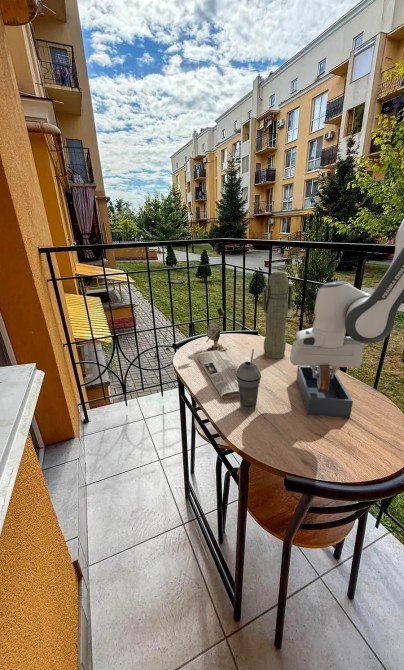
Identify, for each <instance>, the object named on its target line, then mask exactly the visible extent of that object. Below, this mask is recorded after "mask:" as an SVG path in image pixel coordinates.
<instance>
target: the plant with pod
mask: <svg viewBox="0 0 404 670" xmlns="http://www.w3.org/2000/svg"><path fill="white" fill-rule="evenodd" d="M216 311H217V314H218V323H220V322H221V316H223V317H224V318H225V317H226V316H225V310H224V309H223V307H222V306H220V307H219V308H217V309H216ZM206 336H207V340H206V342H205V343H208V342H209V341H210V340H211V341H213V344H212V345H211V346H210V347H207V348H208V349H209V350H210V351H216V350H217V351H221V352H224V351H228V348H226V347H225V346H223V345H222V344H220V343H219V340H220V338H221V326H220V324H217V323H216V322H211V323H210V324H209V325H208V327H207V329H206ZM209 350H208V351H209Z"/></svg>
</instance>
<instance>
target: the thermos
mask: <svg viewBox="0 0 404 670" xmlns="http://www.w3.org/2000/svg"><path fill="white" fill-rule="evenodd" d="M293 290H294V289H293V286H292V284H290V283H289V279H288V274H287V273H285V272H281V271H278V272H276V271H275V272H272V273H270V275H269V278H268V280H267V285H265V286H264V287H263V288H262V301H261V310H262V311H263V312H264V313H265V315H264V316H265V338H264V340H263V356H264V357H265V358H266V359H268V360H275V361H276V360H282V359H284V358H285V355H286V354H285V353H286V347H287V340H286V338H285V337H286V327H287V326H286V325H287V318H288V315H289V311H290V310H291V309H292V302H293Z"/></svg>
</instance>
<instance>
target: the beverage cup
mask: <svg viewBox="0 0 404 670" xmlns="http://www.w3.org/2000/svg"><path fill="white" fill-rule="evenodd" d="M254 353H255V349H254V348H252V349H251V355H250V361H244V362H242V363H241V364H240V365H239V366H237V368H238V369H237V373H236V377H237V382H238V388H239V396H238V398H239V407H240V408H239V409H240V411H241V412H242V413H244V414H253V413H254V412H255V411H256V407H257V402H258V394H259V388H260V382H261V379H262V372H261V370H260V367H259V365H257V364H256V363H255V362H253V359H254Z"/></svg>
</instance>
